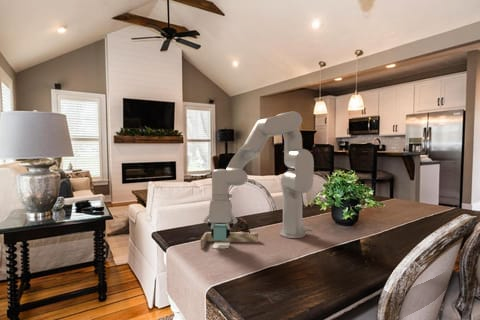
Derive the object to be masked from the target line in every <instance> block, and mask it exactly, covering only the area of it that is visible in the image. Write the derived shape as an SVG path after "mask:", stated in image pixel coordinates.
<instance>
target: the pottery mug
mask: <svg viewBox="0 0 480 320" xmlns="http://www.w3.org/2000/svg"><path fill="white" fill-rule="evenodd" d="M235 218H236V219H237V223H236V224H234V225H233V226H232V227H231V228H230V232H236V231H241V229H243V228H244V230H245V231H247V233H249V232H250V233H251V230H250V227H249V224H248V222H247V221H246V220H245V219H244V218H243V217H235ZM232 222H233V220H231V222H230V224H231V223H232Z"/></svg>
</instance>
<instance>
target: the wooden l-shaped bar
mask: <svg viewBox="0 0 480 320" xmlns="http://www.w3.org/2000/svg"><path fill="white" fill-rule="evenodd" d="M208 242H230V243H231V242H232V243H233V242H234V243H235V242H236V243H240V242H241V243H259V232H250V233H249V232H244V231H243V232H242V231H241V232H239V231H238V232H236V231H232V232H231V231H230V236H229V237H228V238H227V239H226V240H214V238H213V236H211V231H205V232H204V233H203V235H202V236H201V238H200V249H203V250H204V249H205V247H206V245H207V243H208Z"/></svg>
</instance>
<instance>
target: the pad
mask: <svg viewBox="0 0 480 320" xmlns="http://www.w3.org/2000/svg"><path fill="white" fill-rule="evenodd" d="M230 244H231V242H219V241H214V243H213V245H212V247H211V248H212V249H226V248H228V249H229V247H230Z"/></svg>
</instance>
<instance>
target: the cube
mask: <svg viewBox="0 0 480 320" xmlns="http://www.w3.org/2000/svg"><path fill="white" fill-rule="evenodd" d="M226 230H227V226H226V223H215V225H214V240H226V239H227V238H226Z"/></svg>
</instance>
